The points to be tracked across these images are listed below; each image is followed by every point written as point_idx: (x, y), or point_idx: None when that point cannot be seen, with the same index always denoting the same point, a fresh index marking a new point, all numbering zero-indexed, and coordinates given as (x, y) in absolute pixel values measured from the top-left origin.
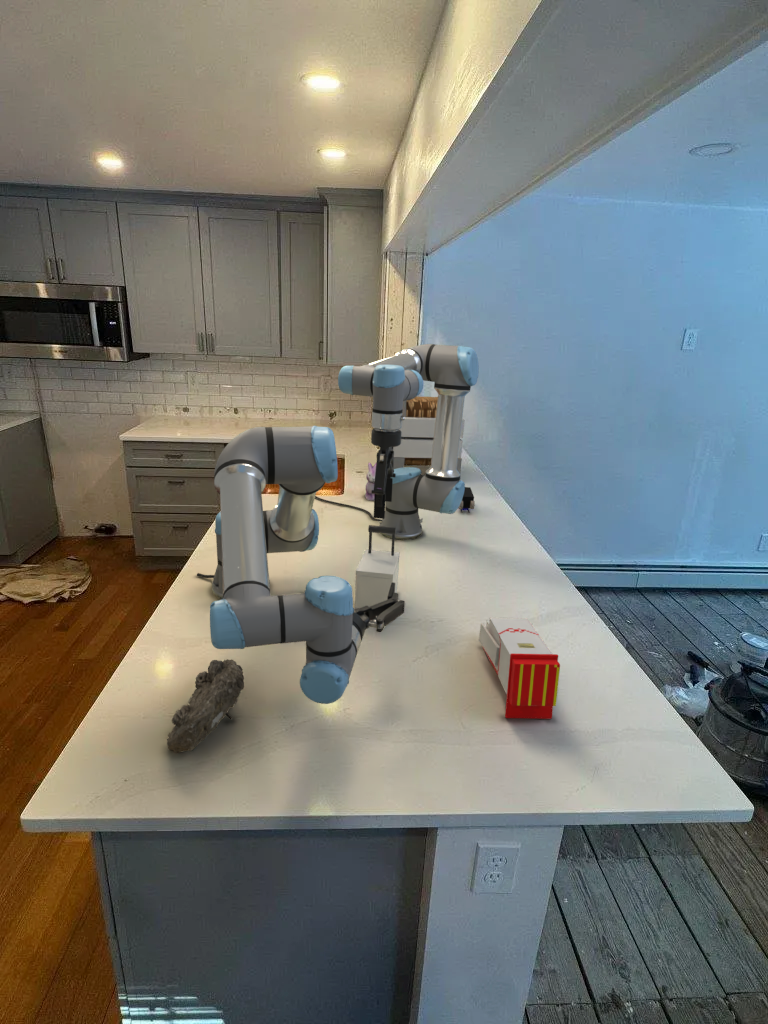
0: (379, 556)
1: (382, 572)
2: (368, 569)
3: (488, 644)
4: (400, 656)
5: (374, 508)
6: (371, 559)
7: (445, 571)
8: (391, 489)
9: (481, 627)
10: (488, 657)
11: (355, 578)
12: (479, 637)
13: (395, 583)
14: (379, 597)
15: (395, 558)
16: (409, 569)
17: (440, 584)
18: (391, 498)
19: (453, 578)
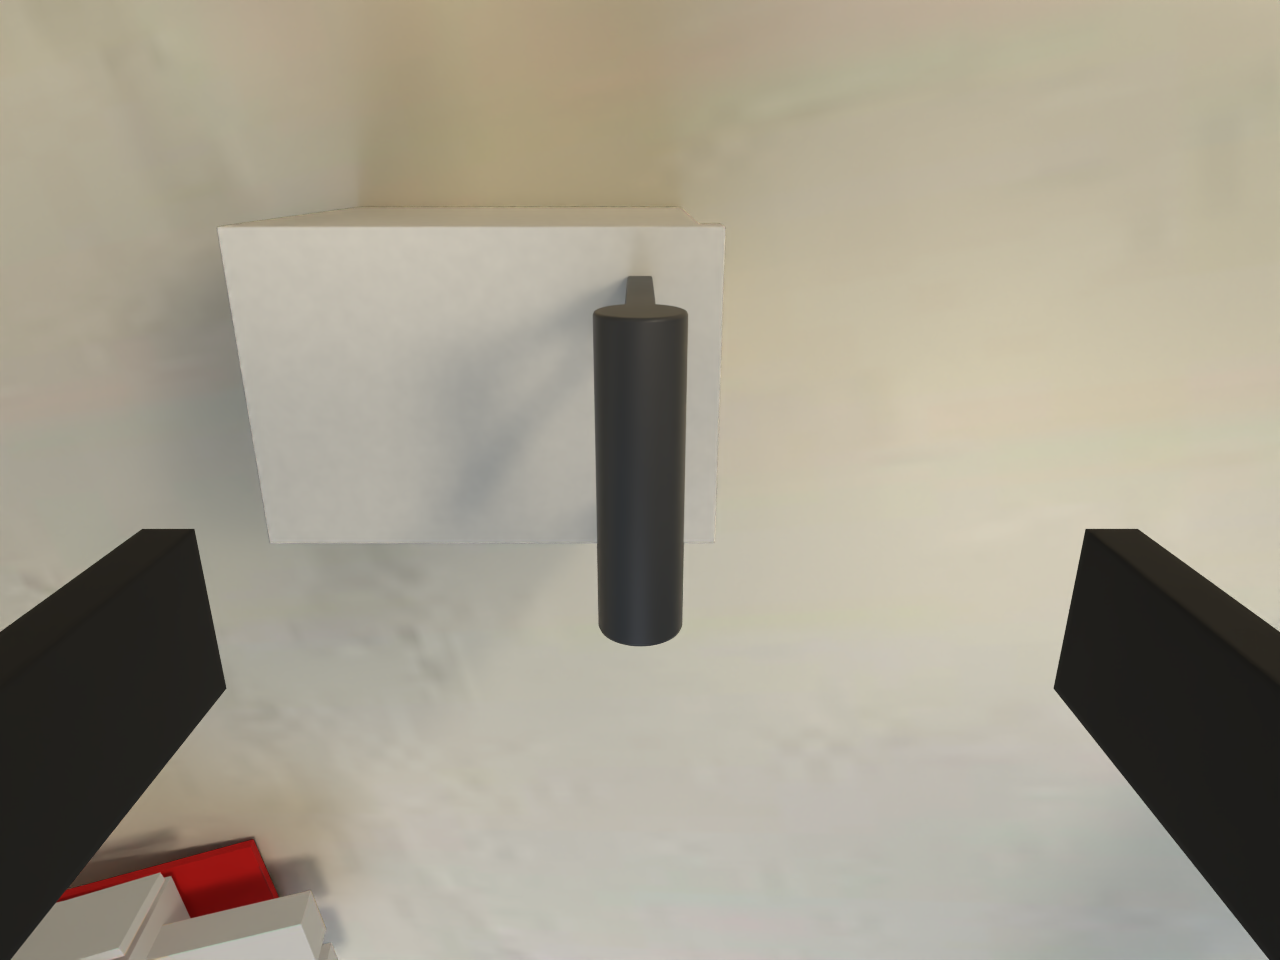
0: (584, 388)
1: (272, 459)
2: (281, 337)
3: None
4: (36, 519)
5: (23, 626)
6: (496, 328)
7: (1019, 672)
8: (1196, 855)
9: (111, 939)
10: (134, 873)
11: (252, 221)
12: (147, 888)
13: None
14: None
15: (577, 525)
16: (1031, 467)
17: (841, 654)
18: (1087, 725)
19: (928, 715)
